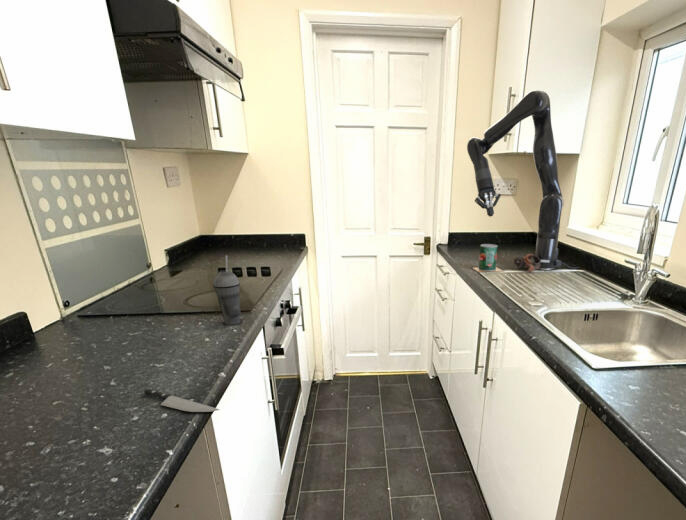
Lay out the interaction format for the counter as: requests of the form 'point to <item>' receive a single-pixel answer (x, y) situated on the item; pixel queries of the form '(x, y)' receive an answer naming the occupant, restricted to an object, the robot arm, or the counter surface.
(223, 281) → the beverage cup
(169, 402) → the chef's knife
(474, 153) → the robot arm
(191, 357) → the counter surface
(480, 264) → the canned tomato
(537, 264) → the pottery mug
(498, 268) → the trivet
